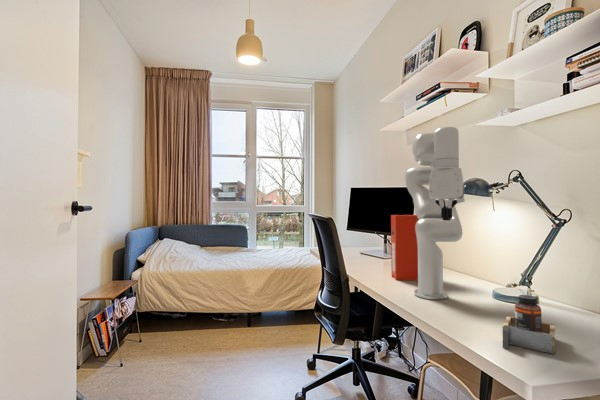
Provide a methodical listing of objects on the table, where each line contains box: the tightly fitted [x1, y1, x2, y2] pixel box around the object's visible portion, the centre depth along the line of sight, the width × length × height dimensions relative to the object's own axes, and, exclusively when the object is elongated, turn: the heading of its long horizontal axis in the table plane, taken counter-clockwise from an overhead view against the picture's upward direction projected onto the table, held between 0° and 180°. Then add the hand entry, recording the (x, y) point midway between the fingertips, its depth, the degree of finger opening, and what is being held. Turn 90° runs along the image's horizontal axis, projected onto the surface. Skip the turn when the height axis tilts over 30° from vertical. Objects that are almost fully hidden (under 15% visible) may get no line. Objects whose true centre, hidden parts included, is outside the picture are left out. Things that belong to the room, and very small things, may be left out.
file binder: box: [390, 214, 419, 281], centre depth 158 cm, size 8×17×32 cm, turn 90°
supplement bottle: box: [514, 294, 543, 332], centre depth 86 cm, size 6×6×11 cm
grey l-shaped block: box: [502, 325, 553, 355], centre depth 79 cm, size 4×10×4 cm, turn 51°
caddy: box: [502, 315, 556, 354], centre depth 86 cm, size 11×11×4 cm
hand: (446, 220), depth 104 cm, fingers closed
